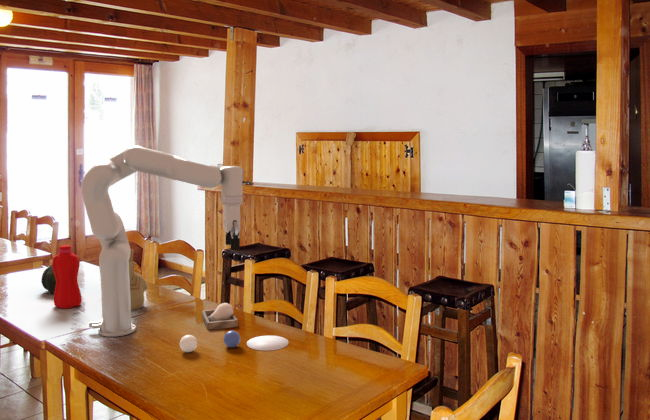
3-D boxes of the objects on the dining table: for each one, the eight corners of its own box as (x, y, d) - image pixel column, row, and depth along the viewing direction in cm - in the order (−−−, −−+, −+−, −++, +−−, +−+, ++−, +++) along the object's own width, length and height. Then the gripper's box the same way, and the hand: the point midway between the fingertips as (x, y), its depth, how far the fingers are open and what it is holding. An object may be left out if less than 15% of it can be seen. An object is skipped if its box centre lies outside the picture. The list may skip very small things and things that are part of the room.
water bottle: (69, 300, 247) (66, 242, 244) (84, 305, 241) (82, 245, 238) (48, 305, 240) (45, 245, 237) (63, 310, 234) (60, 248, 230)
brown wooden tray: (207, 329, 211) (207, 323, 211) (201, 316, 226) (201, 310, 226) (237, 326, 215) (237, 320, 214) (230, 314, 230) (230, 307, 229)
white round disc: (251, 352, 189) (251, 352, 189) (243, 338, 202) (243, 337, 202) (293, 347, 194) (293, 347, 194) (282, 334, 207) (282, 333, 207)
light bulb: (208, 313, 214) (232, 300, 220) (200, 312, 219) (224, 299, 226) (215, 329, 215) (239, 315, 221) (206, 328, 220) (230, 315, 227)
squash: (30, 284, 252) (54, 257, 254) (39, 277, 267) (62, 252, 268) (58, 304, 255) (81, 278, 257) (65, 296, 270) (87, 271, 271)
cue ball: (180, 355, 186) (180, 338, 186) (179, 349, 191) (178, 333, 191) (198, 353, 188) (197, 337, 187) (196, 347, 193) (196, 331, 193)
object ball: (225, 350, 191) (224, 334, 190) (222, 345, 196) (222, 329, 195) (241, 348, 192) (241, 332, 192) (238, 343, 198) (238, 327, 197)
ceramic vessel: (141, 298, 251) (139, 240, 248) (154, 310, 234) (151, 248, 231) (99, 304, 242) (96, 244, 239) (109, 317, 226) (106, 252, 222)
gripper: (217, 198, 220) (218, 243, 222) (225, 203, 203) (226, 252, 206) (237, 197, 222) (238, 242, 224) (247, 202, 206) (247, 250, 208)
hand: (232, 246), depth 215 cm, fingers open, 9 cm apart
